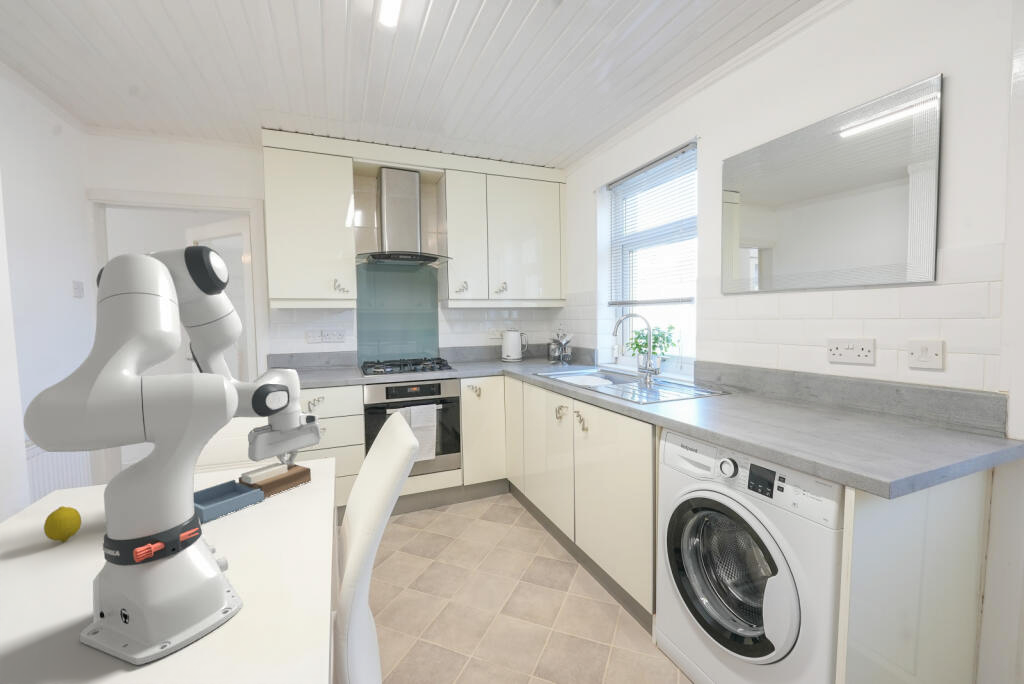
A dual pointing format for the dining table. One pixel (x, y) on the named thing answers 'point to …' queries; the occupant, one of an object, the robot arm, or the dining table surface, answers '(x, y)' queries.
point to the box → (224, 499)
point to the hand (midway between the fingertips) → (288, 466)
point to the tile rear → (276, 469)
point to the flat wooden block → (282, 480)
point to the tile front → (255, 476)
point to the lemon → (62, 524)
